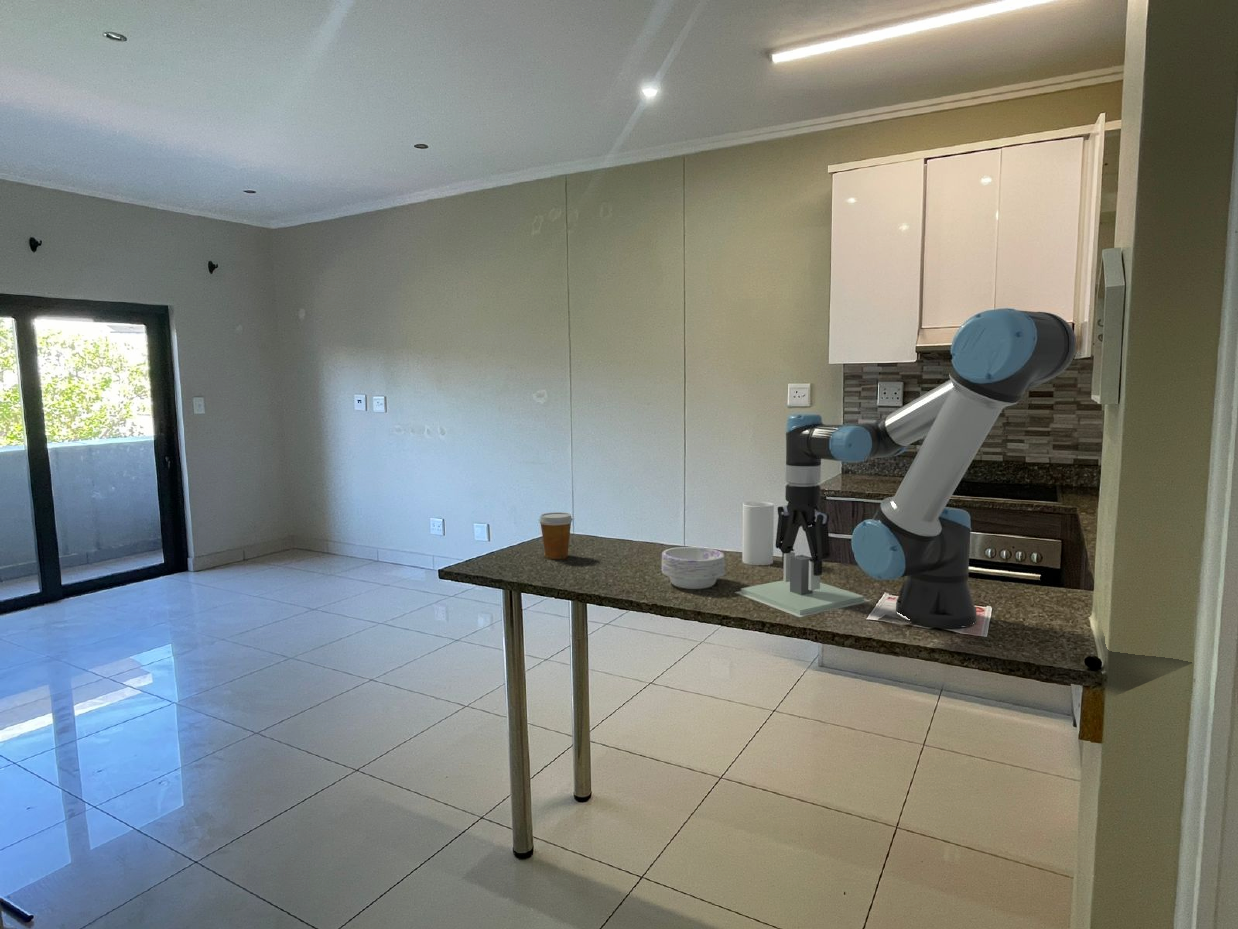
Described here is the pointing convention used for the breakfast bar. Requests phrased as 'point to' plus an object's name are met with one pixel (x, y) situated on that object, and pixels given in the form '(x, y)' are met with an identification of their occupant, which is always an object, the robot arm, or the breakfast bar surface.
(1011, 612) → the breakfast bar surface
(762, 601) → the mat
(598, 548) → the breakfast bar surface
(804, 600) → the cover
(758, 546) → the cup
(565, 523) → the disposable coffee cup
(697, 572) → the paper bowls
